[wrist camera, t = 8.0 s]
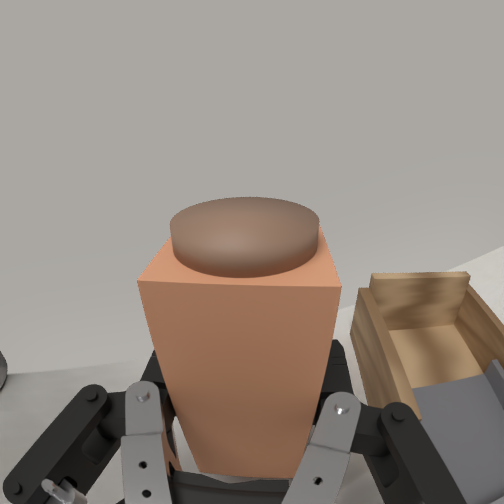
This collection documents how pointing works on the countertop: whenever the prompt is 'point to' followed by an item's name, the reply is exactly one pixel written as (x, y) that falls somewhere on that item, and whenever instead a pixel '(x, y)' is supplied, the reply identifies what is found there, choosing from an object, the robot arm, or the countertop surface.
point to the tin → (243, 330)
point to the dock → (421, 334)
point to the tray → (469, 431)
